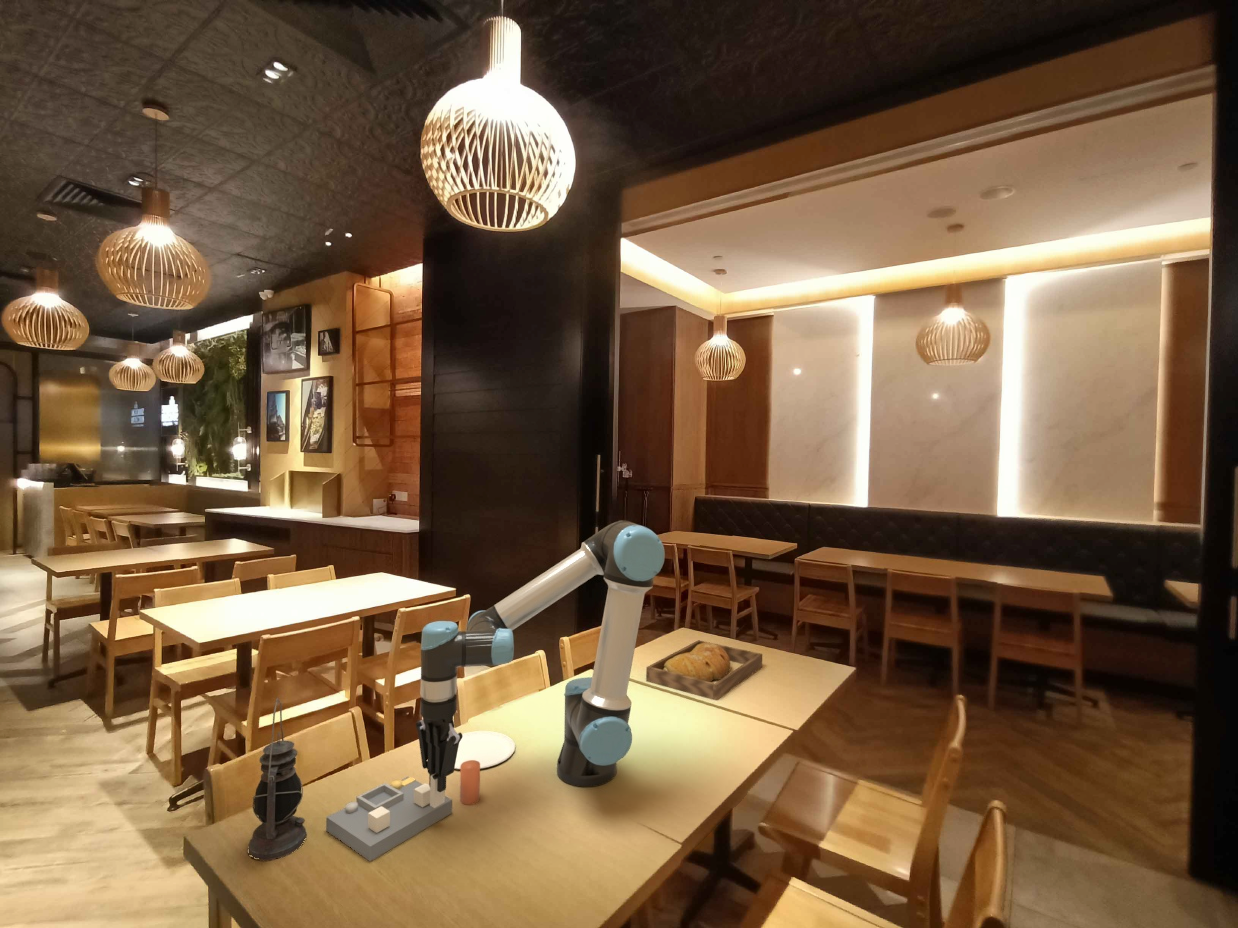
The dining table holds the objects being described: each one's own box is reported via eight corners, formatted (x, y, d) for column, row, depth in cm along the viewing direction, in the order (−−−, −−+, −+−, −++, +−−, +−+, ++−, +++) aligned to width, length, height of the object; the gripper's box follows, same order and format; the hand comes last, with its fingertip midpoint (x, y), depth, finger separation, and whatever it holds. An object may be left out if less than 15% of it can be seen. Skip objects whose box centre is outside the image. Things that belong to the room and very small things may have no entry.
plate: (444, 780, 148) (444, 775, 148) (428, 743, 167) (428, 739, 167) (525, 761, 158) (525, 757, 158) (502, 728, 176) (502, 724, 176)
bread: (702, 692, 205) (702, 663, 205) (654, 678, 218) (655, 651, 218) (746, 667, 230) (746, 641, 230) (701, 656, 243) (701, 631, 243)
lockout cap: (483, 797, 141) (484, 763, 140) (468, 806, 137) (469, 771, 137) (470, 791, 143) (471, 758, 143) (456, 800, 140) (456, 765, 139)
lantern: (299, 858, 119) (300, 707, 118) (238, 868, 116) (239, 713, 115) (312, 821, 131) (313, 683, 130) (257, 829, 128) (258, 688, 127)
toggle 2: (433, 800, 134) (434, 787, 134) (422, 807, 131) (422, 793, 131) (425, 796, 135) (425, 782, 135) (413, 802, 133) (414, 788, 133)
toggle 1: (389, 825, 125) (389, 811, 125) (376, 832, 122) (376, 818, 122) (381, 820, 126) (381, 805, 126) (368, 827, 124) (368, 812, 124)
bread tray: (762, 666, 231) (762, 653, 231) (716, 700, 199) (716, 685, 199) (698, 652, 247) (698, 640, 247) (646, 681, 214) (646, 667, 214)
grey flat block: (452, 812, 135) (452, 792, 135) (370, 861, 118) (370, 838, 118) (407, 788, 144) (408, 770, 144) (326, 830, 127) (326, 809, 127)
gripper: (472, 697, 129) (471, 805, 130) (433, 683, 137) (432, 786, 137) (444, 708, 123) (443, 823, 124) (405, 693, 131) (403, 801, 131)
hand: (437, 803), depth 130 cm, fingers closed
